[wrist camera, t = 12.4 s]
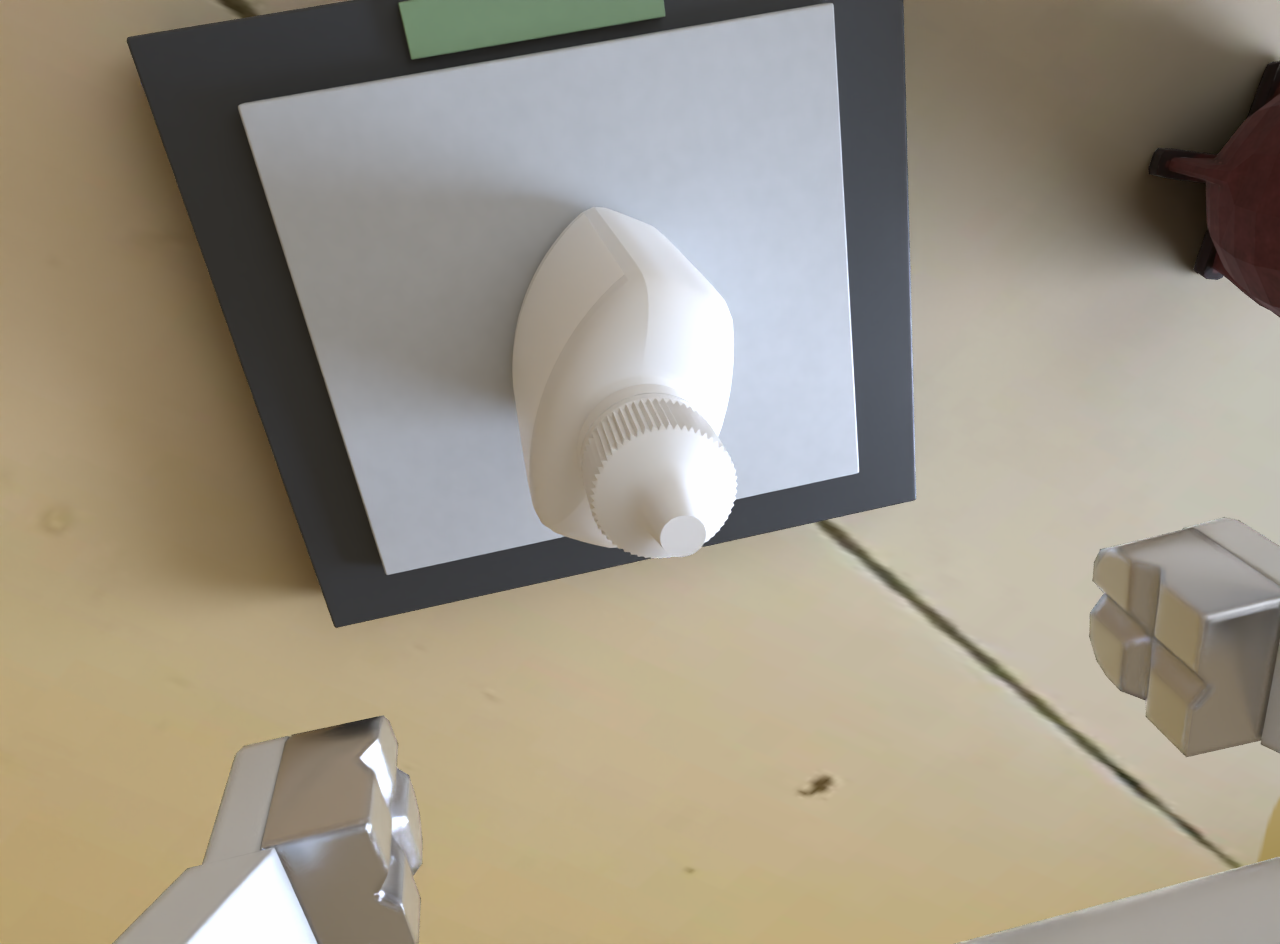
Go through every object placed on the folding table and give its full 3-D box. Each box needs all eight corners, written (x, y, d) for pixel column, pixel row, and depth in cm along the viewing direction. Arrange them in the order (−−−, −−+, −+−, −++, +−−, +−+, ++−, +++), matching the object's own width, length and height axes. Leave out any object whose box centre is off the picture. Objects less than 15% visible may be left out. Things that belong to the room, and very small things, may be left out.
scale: (150, 36, 23) (115, 37, 21) (870, -83, 24) (913, -94, 22) (341, 593, 30) (332, 641, 28) (891, 474, 31) (925, 509, 29)
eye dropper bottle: (447, 324, 24) (437, 559, 14) (617, 176, 24) (750, 303, 13) (558, 440, 26) (628, 729, 15) (720, 308, 25) (911, 515, 15)
